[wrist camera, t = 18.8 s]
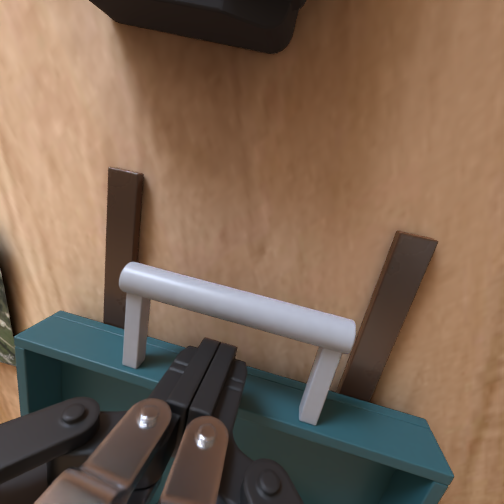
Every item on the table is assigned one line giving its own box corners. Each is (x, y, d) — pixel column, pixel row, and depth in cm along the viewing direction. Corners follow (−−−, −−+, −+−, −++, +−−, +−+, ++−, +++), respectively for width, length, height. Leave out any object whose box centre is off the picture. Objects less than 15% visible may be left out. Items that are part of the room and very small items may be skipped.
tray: (58, 225, 14) (3, 236, 12) (471, 331, 12) (519, 375, 9) (63, 433, 19) (25, 474, 17) (362, 539, 17) (373, 607, 14)
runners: (115, 167, 14) (107, 167, 13) (433, 238, 12) (439, 241, 11) (104, 436, 19) (99, 443, 19) (317, 511, 18) (318, 521, 17)
